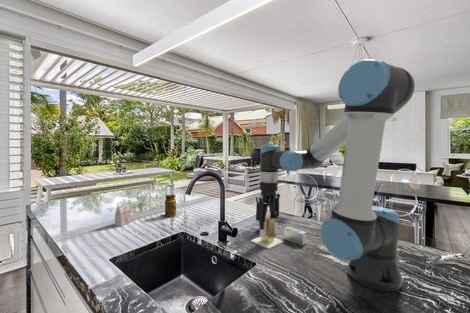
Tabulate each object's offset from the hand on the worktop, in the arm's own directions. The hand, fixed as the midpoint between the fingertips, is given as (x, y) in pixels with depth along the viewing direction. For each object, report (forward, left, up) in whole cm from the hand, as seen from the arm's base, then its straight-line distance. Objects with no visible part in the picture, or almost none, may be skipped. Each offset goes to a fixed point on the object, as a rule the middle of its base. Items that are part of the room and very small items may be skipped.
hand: (267, 234), depth 102 cm
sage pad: (0, 0, -3) cm, 3 cm away
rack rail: (0, -10, -3) cm, 11 cm away
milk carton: (+63, +39, -4) cm, 74 cm away
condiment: (+60, +15, -4) cm, 62 cm away
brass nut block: (0, 0, -3) cm, 3 cm away
